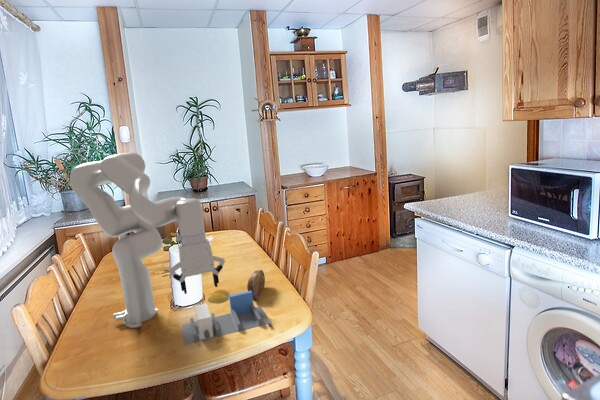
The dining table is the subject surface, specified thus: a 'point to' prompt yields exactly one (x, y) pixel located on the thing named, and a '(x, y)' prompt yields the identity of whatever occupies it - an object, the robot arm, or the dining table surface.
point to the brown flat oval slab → (256, 283)
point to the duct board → (230, 319)
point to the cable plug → (204, 321)
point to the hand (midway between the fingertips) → (200, 288)
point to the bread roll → (218, 296)
